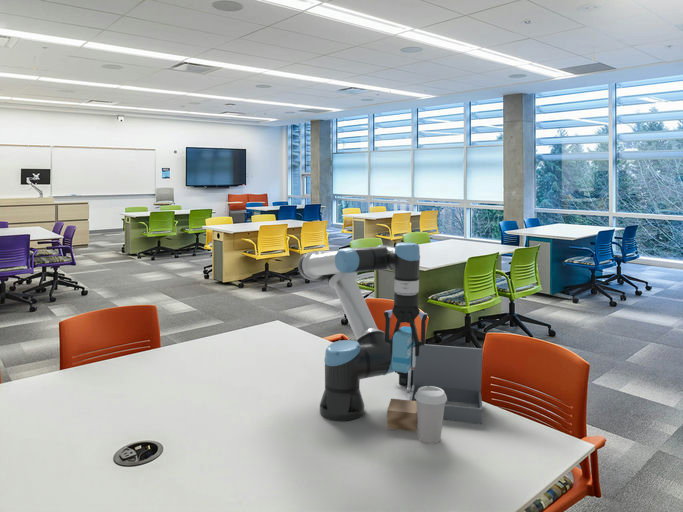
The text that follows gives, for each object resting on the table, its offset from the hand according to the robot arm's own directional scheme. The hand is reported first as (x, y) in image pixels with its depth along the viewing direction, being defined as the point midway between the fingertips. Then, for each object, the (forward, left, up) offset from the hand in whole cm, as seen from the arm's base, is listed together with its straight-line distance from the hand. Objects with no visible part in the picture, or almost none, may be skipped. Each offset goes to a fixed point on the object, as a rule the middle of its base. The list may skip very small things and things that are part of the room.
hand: (404, 364), depth 159 cm
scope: (-2, +33, -20) cm, 39 cm away
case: (+13, +13, -20) cm, 27 cm away
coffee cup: (+9, -8, -20) cm, 23 cm away
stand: (0, 0, -20) cm, 20 cm away
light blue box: (0, 0, -1) cm, 1 cm away
